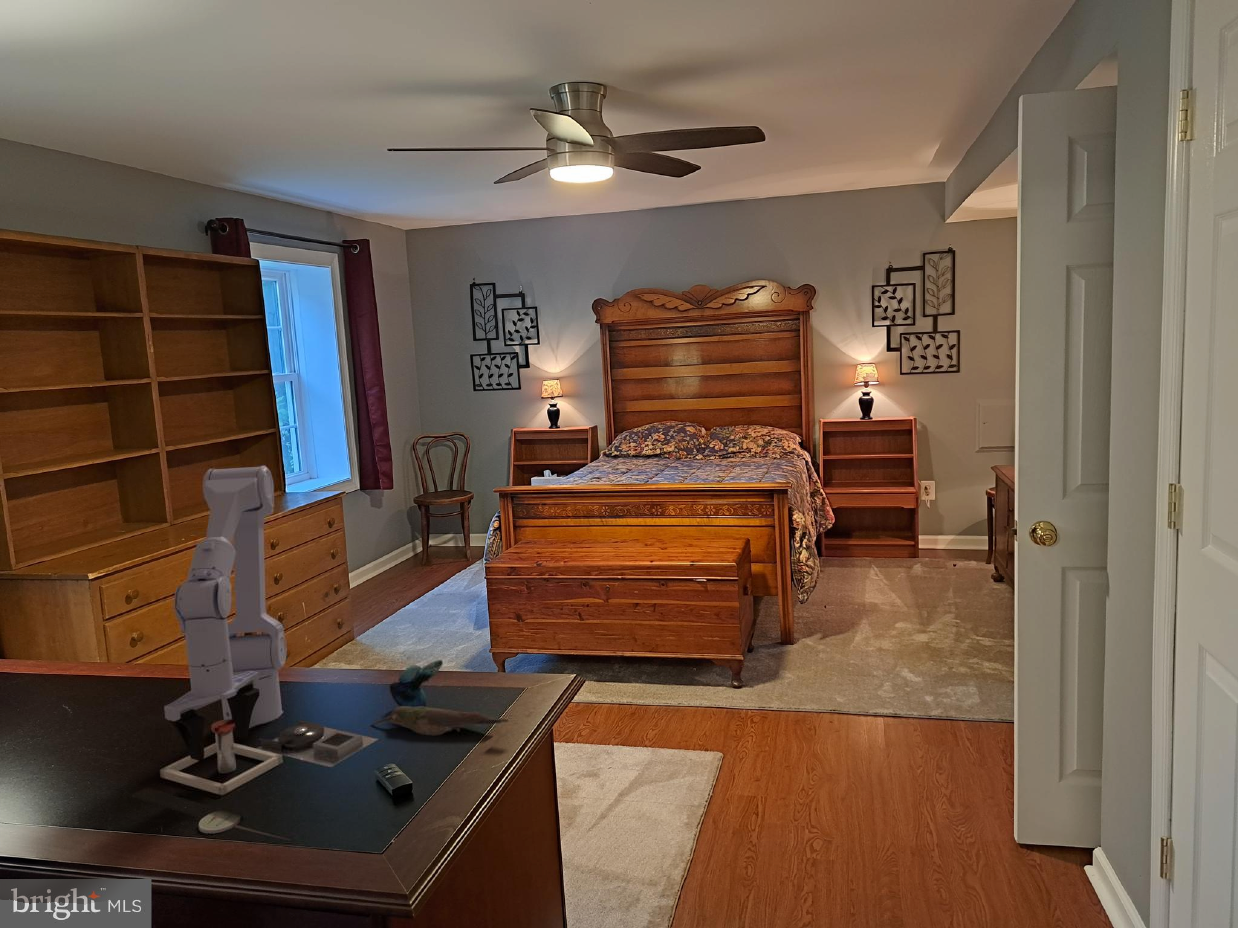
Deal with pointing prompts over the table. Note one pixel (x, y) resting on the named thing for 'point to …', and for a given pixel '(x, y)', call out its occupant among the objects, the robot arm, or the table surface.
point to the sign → (224, 823)
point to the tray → (221, 789)
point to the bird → (435, 719)
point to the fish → (413, 684)
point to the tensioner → (316, 743)
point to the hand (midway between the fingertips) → (219, 747)
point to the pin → (225, 745)
